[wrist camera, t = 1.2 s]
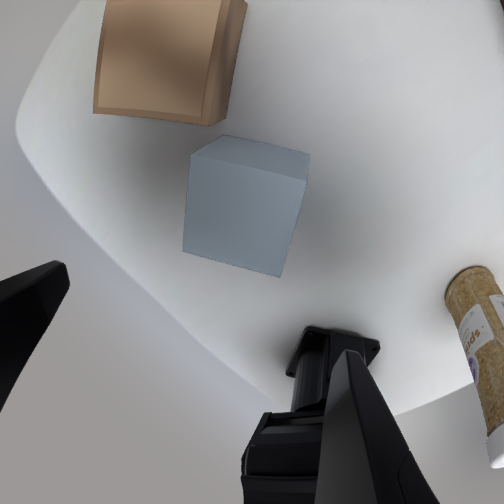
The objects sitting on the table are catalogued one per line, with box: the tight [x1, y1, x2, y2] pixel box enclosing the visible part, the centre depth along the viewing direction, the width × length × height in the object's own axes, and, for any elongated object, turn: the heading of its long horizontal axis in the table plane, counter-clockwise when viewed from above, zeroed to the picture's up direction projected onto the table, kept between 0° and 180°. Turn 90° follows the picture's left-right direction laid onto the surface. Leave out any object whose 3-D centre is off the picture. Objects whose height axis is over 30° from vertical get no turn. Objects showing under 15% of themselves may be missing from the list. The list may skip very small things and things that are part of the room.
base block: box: [93, 0, 247, 126], centre depth 13 cm, size 7×7×3 cm
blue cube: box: [182, 135, 310, 278], centre depth 16 cm, size 5×5×5 cm
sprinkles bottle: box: [446, 267, 504, 468], centre depth 12 cm, size 5×5×14 cm
